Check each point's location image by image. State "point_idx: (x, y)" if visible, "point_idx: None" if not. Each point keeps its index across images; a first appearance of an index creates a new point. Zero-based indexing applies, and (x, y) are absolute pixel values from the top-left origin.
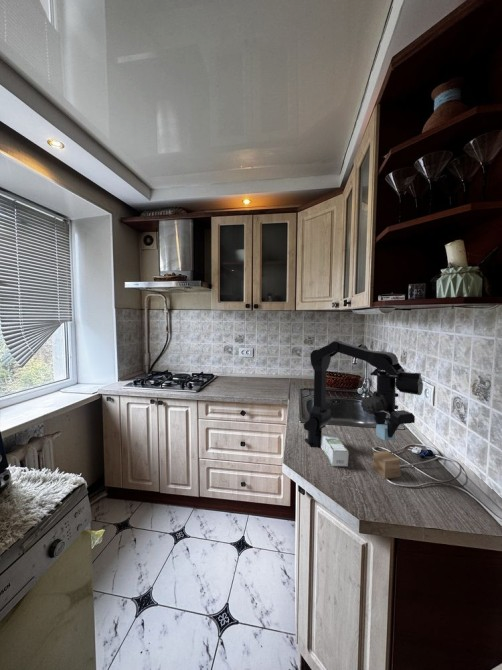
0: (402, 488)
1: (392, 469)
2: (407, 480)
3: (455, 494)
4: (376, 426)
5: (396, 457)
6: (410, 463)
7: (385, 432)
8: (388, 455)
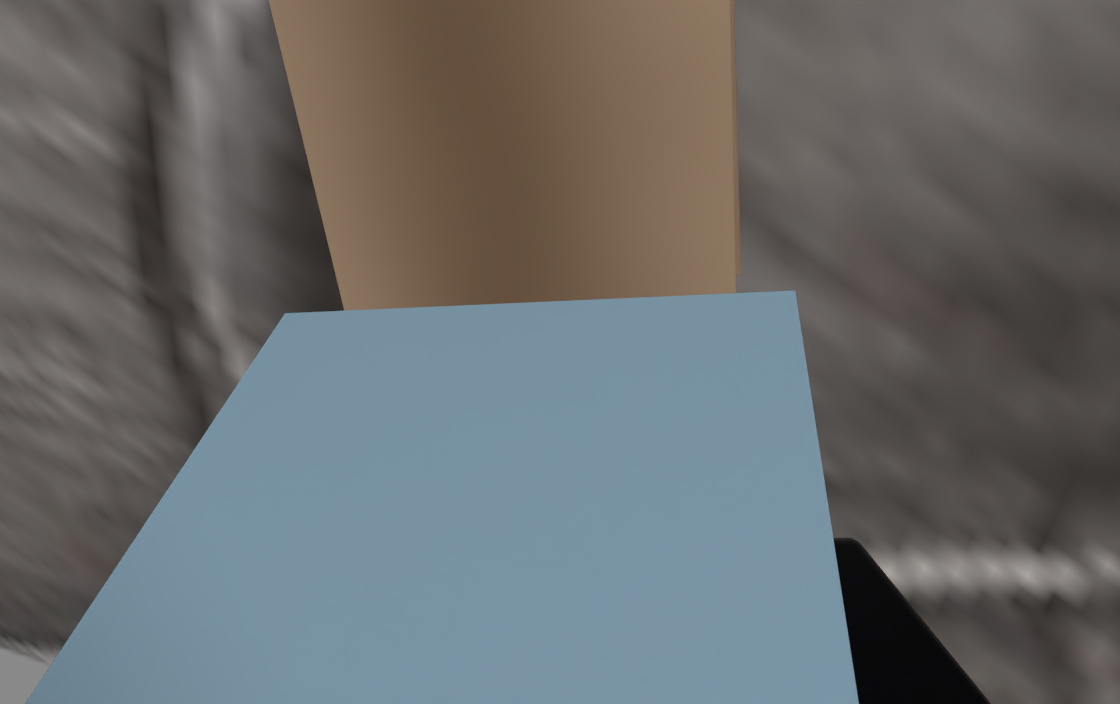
0: (106, 25)
1: None
2: (325, 252)
3: (73, 557)
4: (842, 625)
5: None
6: None
7: (139, 587)
8: (538, 257)
